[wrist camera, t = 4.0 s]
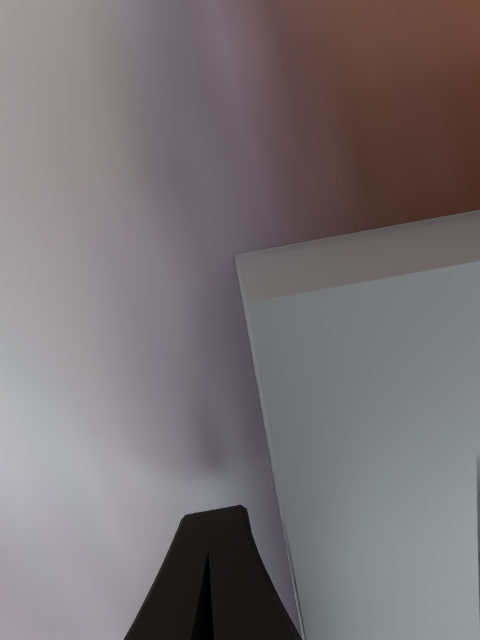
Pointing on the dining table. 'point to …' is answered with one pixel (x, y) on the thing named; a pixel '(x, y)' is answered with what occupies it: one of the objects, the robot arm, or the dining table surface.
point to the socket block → (374, 424)
